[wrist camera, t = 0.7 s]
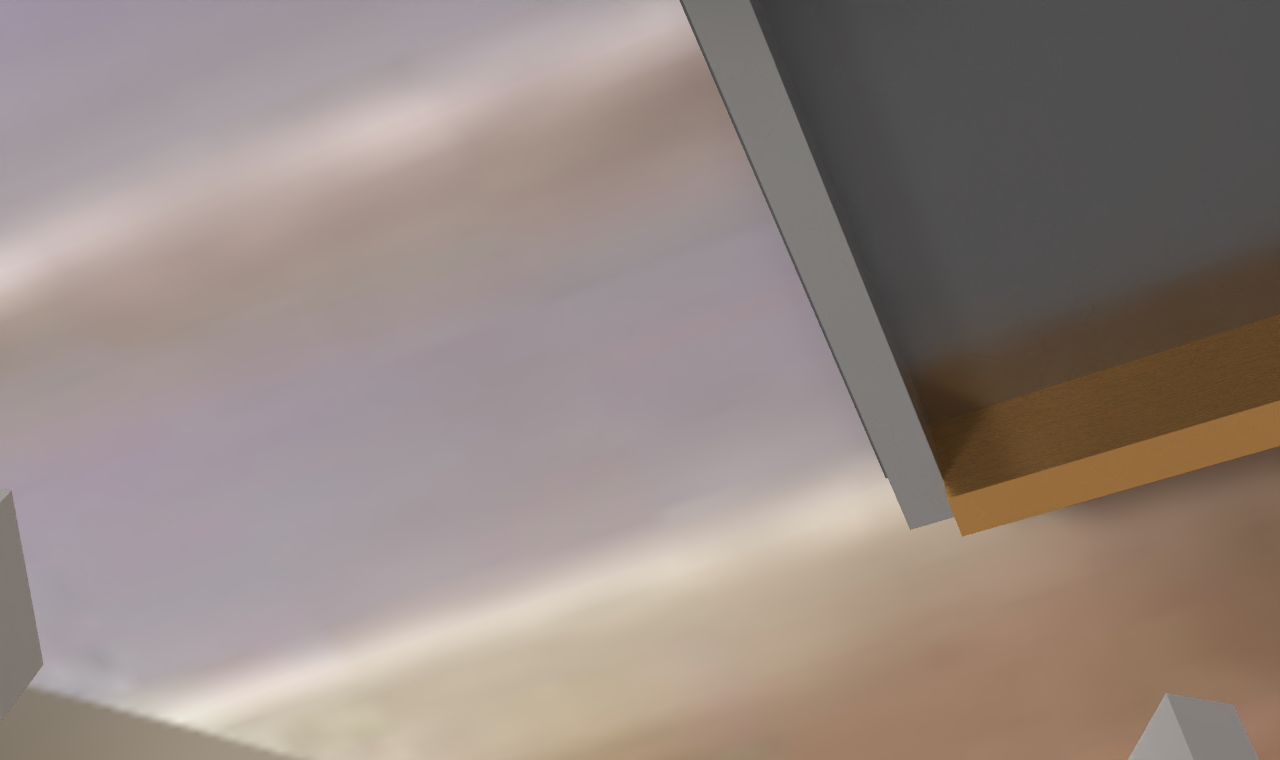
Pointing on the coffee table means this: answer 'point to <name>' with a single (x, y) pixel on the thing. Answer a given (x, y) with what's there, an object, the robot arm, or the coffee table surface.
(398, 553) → the coffee table surface
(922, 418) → the grey piece
